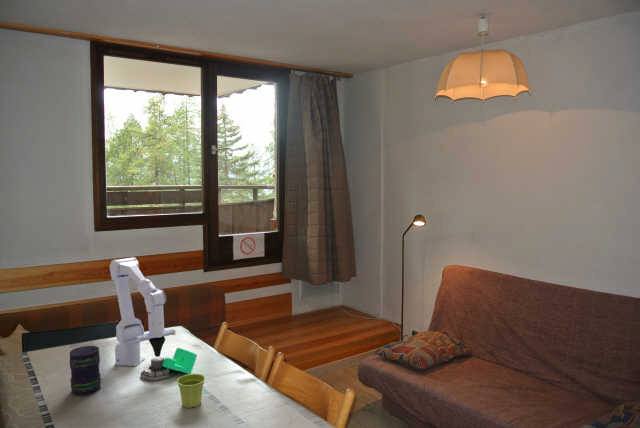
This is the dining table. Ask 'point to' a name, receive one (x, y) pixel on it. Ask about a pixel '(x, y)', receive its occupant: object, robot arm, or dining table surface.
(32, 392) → the dining table surface
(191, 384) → the plant pot
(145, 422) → the dining table surface
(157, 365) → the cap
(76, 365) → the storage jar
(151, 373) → the grey knurled ring
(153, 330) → the robot arm
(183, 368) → the camera mount
